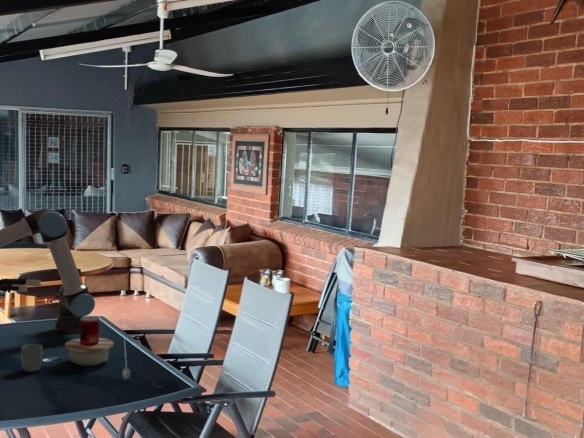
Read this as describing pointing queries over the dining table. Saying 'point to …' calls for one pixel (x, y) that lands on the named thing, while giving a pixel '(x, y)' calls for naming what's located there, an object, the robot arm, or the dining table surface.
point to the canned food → (89, 330)
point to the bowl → (88, 358)
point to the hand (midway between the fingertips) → (33, 285)
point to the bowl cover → (101, 346)
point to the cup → (31, 357)
